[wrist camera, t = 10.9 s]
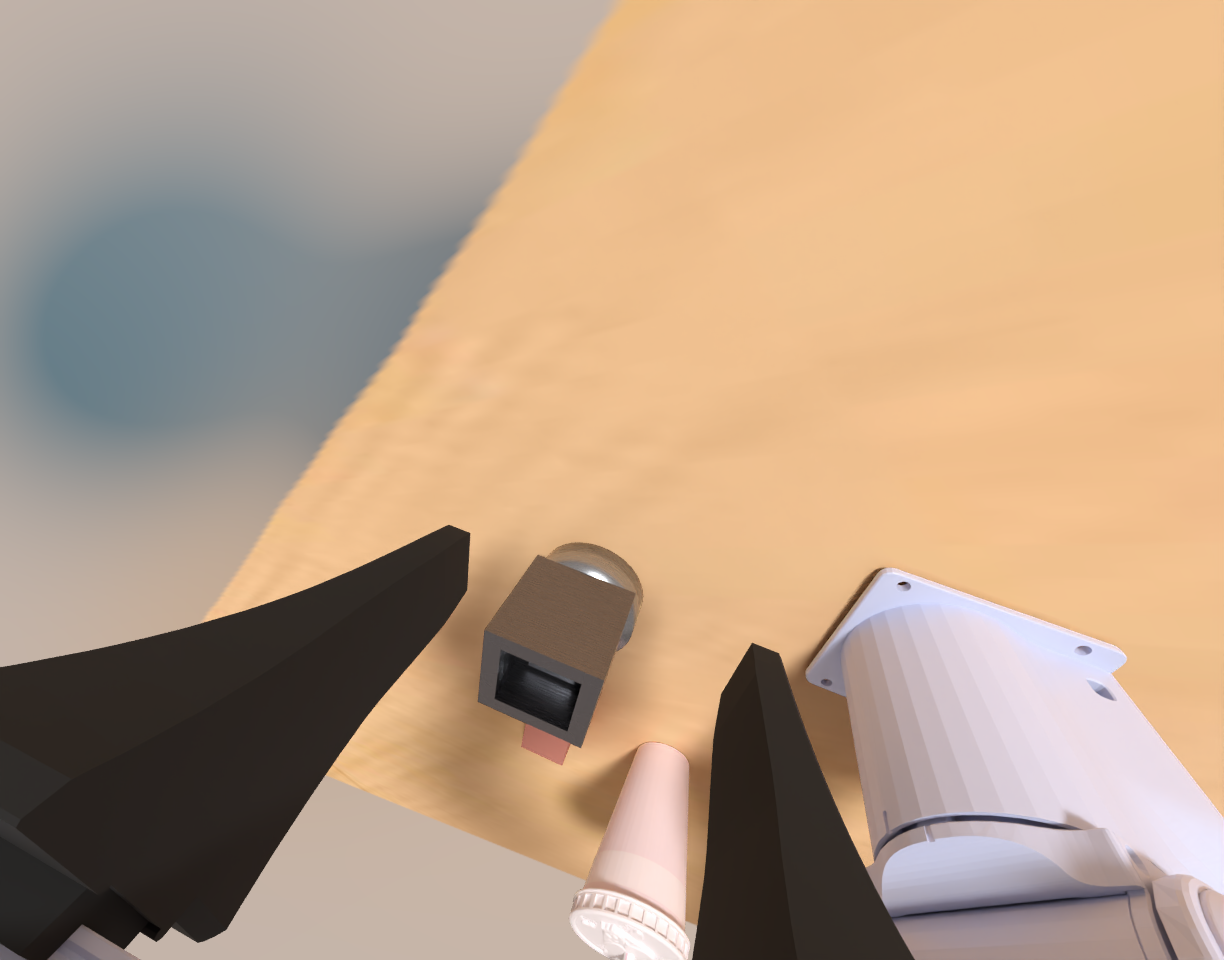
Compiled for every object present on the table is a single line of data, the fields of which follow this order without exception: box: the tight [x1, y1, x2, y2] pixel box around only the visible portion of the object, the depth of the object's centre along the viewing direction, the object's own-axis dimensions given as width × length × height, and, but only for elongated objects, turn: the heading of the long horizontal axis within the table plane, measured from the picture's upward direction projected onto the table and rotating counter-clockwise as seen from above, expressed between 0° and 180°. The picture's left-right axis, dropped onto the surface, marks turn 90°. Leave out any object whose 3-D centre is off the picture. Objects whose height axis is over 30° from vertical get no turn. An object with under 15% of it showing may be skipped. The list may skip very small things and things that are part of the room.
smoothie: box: [569, 742, 690, 960], centre depth 25 cm, size 6×6×14 cm
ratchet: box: [521, 543, 643, 765], centre depth 26 cm, size 18×6×5 cm, turn 167°
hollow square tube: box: [478, 555, 636, 748], centre depth 21 cm, size 5×5×5 cm
